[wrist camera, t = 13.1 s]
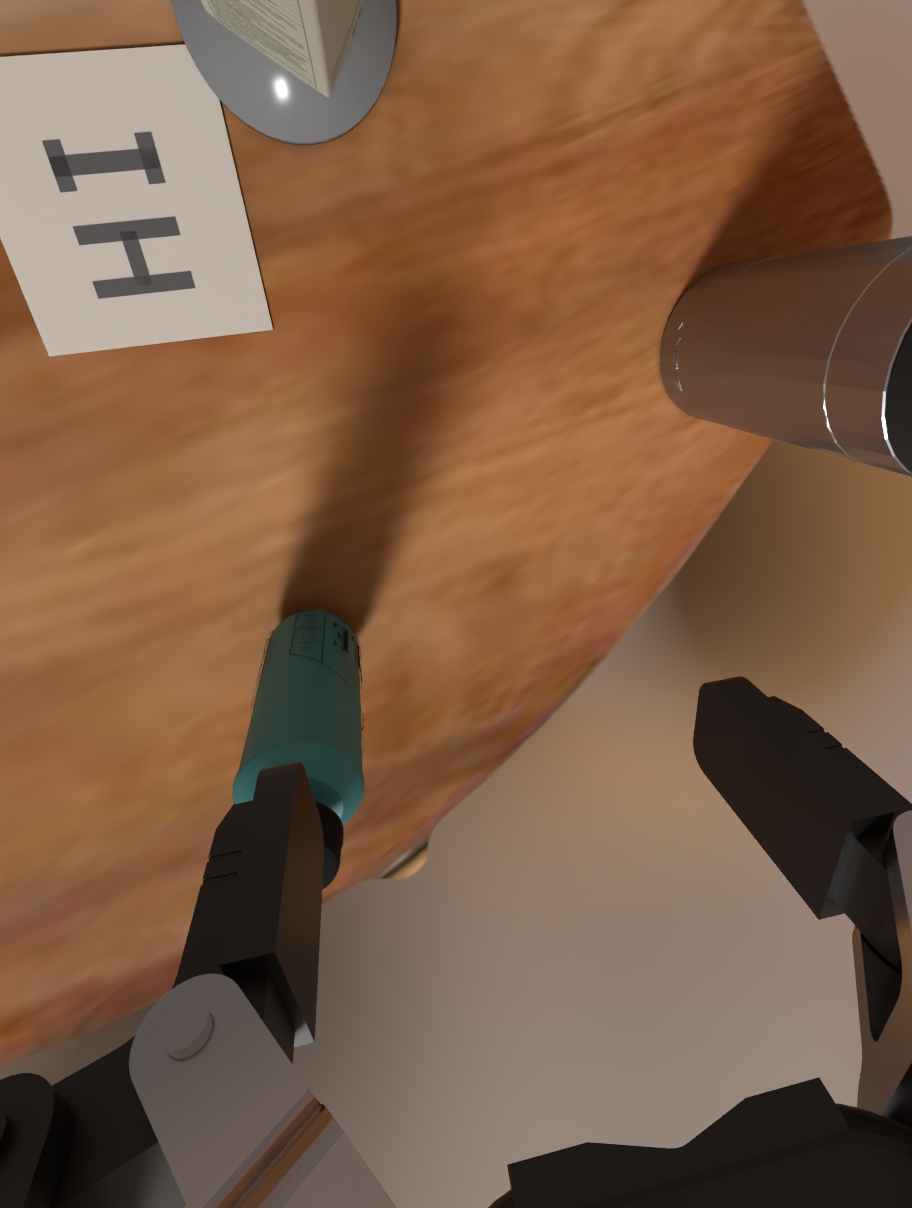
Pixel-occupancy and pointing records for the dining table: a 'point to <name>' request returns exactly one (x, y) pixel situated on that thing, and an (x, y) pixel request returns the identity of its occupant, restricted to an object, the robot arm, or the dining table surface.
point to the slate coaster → (291, 76)
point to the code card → (123, 201)
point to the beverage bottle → (310, 720)
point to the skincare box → (295, 33)
